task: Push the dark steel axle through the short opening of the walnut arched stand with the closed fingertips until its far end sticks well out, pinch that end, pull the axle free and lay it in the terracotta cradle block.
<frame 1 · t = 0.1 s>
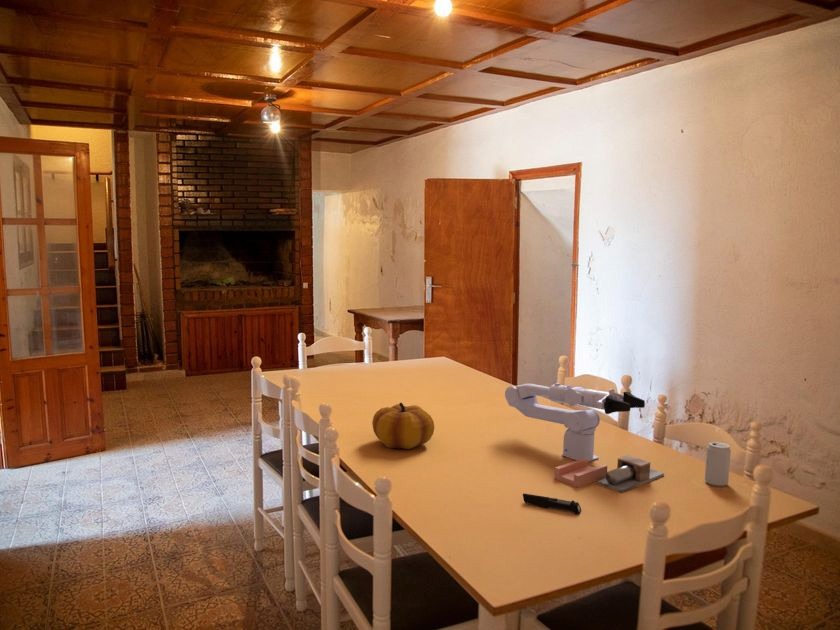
hand: (636, 405, 195), 22 cm above the table, tool horizontal, fingers open, 7 cm apart
axle: (627, 472, 192), point 3 cm above the table, touching arched stand
electric trimmer: (552, 509, 173), on the table
cradle: (580, 477, 194), on the table
arched stand: (632, 478, 194), on the table
beverage can: (716, 484, 192), on the table
decorative pumpkin: (402, 444, 224), on the table
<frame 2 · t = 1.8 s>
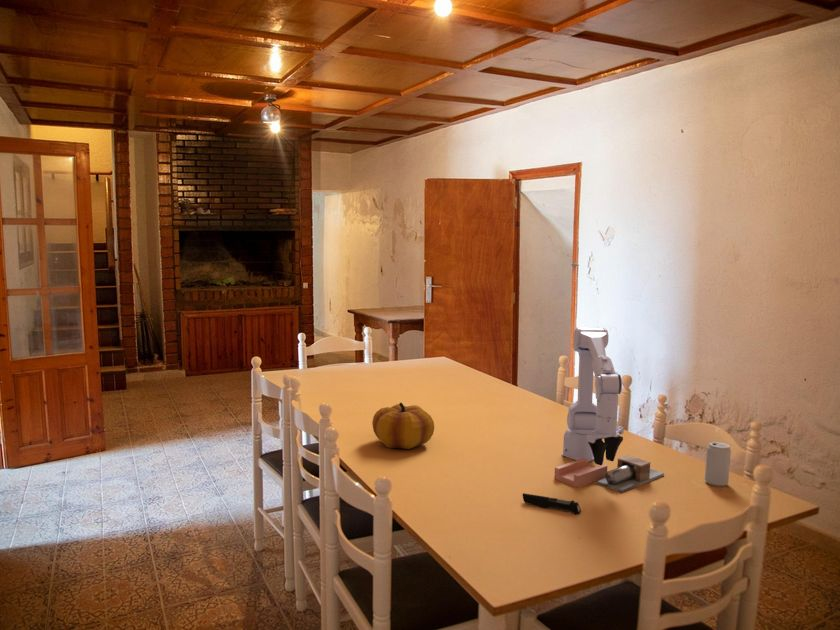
hand: (604, 462, 184), 8 cm above the table, tool pointing down, fingers open, 5 cm apart
nothing on the table moved.
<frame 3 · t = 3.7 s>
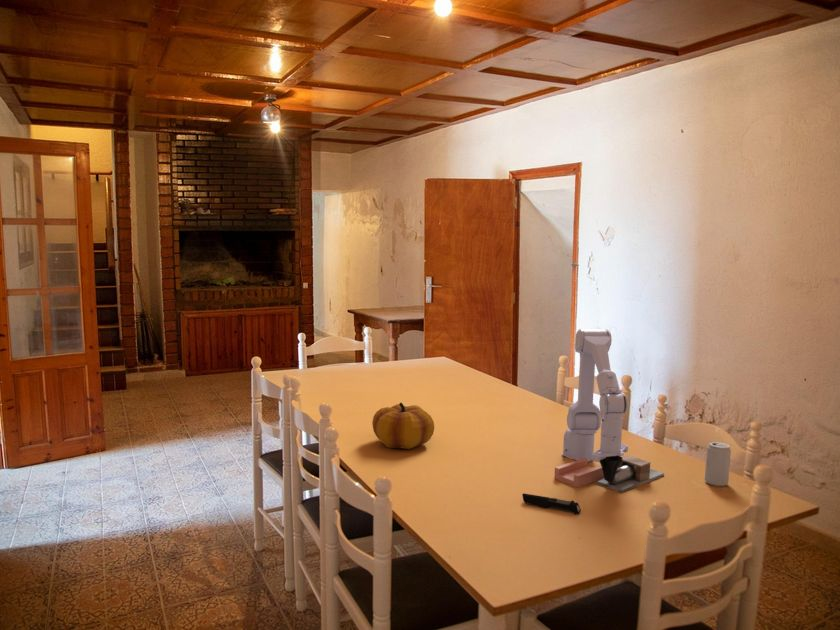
hand: (608, 480, 186), 2 cm above the table, tool pointing down, fingers closed
axle: (627, 471, 192), point 3 cm above the table, touching gripper
everything else where it was.
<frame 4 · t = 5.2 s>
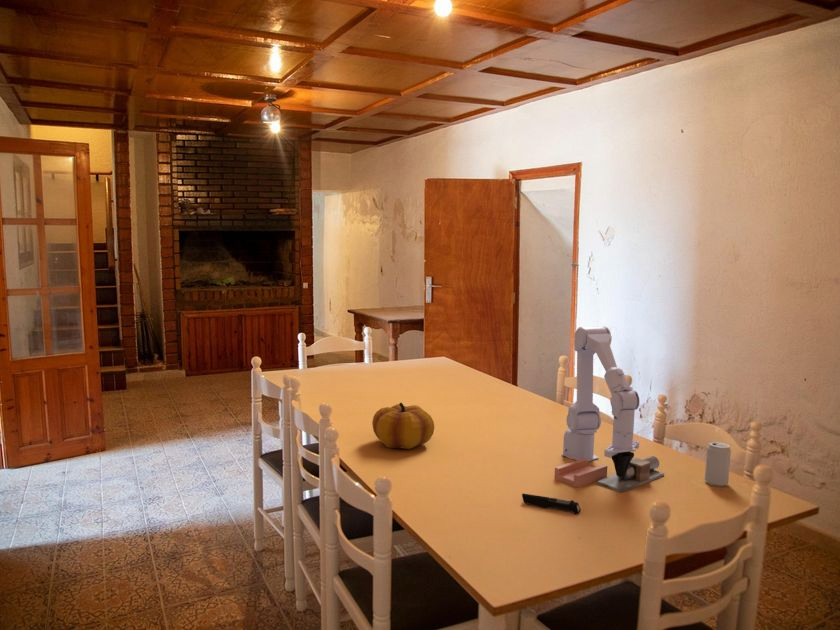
hand: (620, 476, 190), 2 cm above the table, tool pointing down, fingers closed
axle: (638, 467, 196), point 3 cm above the table, touching arched stand, gripper
everything else where it was.
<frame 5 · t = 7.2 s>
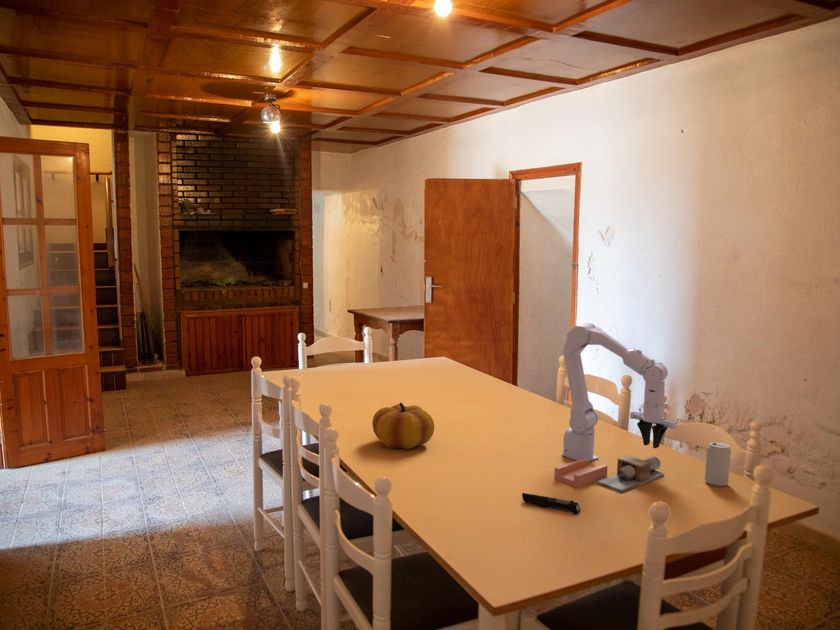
hand: (651, 446, 199), 8 cm above the table, tool pointing down, fingers open, 3 cm apart
axle: (639, 468, 195), point 3 cm above the table, tilted 11°, touching arched stand
everything else where it was.
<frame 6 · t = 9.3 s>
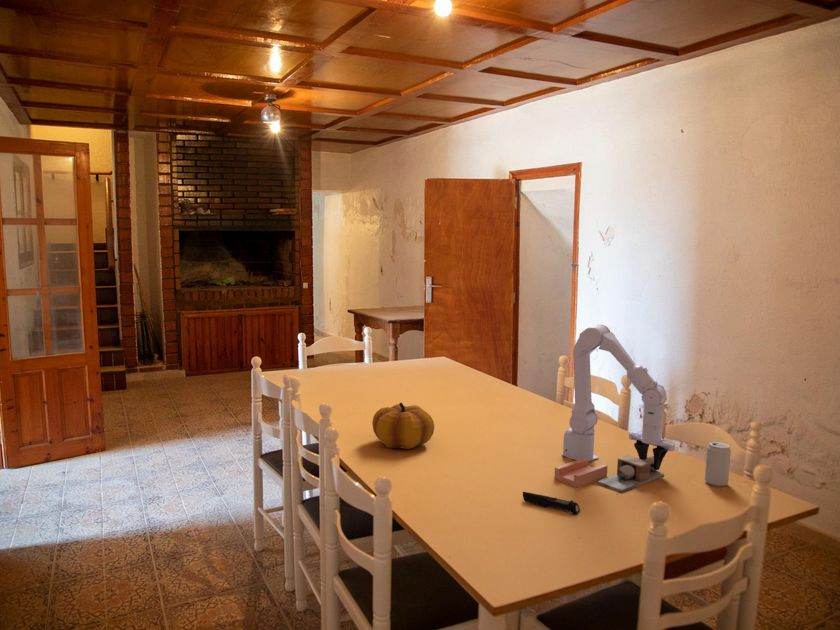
hand: (649, 467, 199), 2 cm above the table, tool pointing down, fingers closed on axle, 4 cm apart
axle: (638, 467, 196), point 3 cm above the table, touching arched stand, gripper
everything else where it was.
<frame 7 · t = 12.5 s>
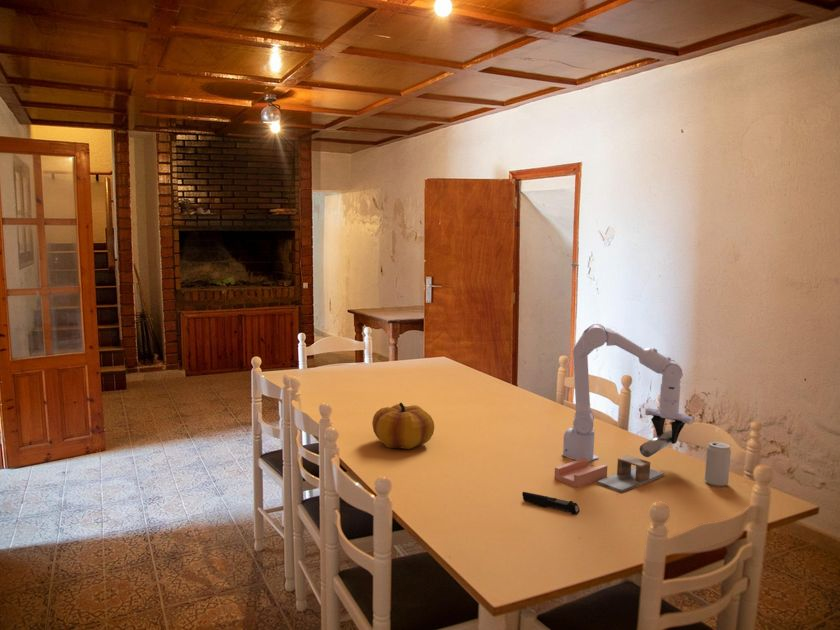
hand: (666, 441, 204), 8 cm above the table, tool pointing down, fingers closed on axle, 4 cm apart
axle: (658, 443, 200), point 9 cm above the table, touching gripper
everything else where it was.
when the fingers open (4 cm above the table, at t = 16.8 s): axle drops 1 cm, resting on cradle.
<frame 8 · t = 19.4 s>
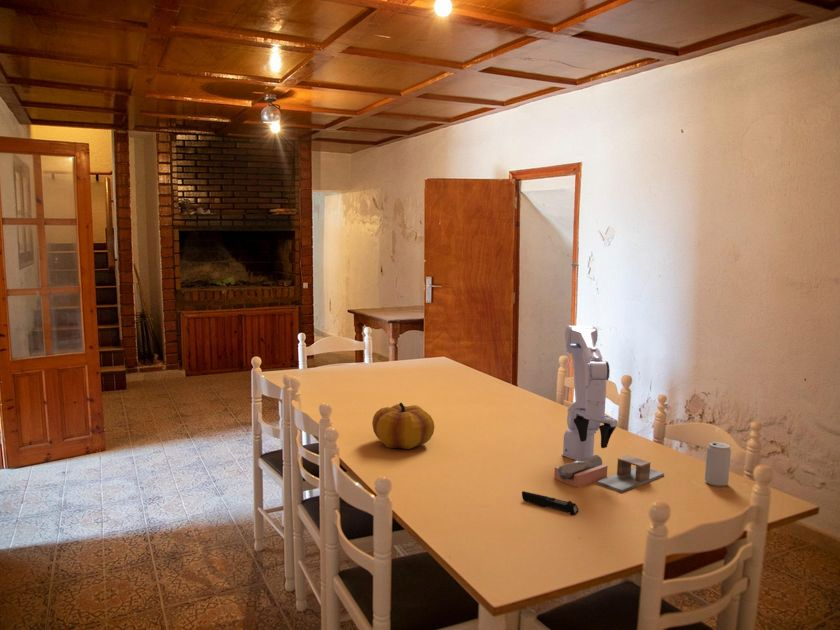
hand: (593, 444, 197), 9 cm above the table, tool pointing down, fingers open, 7 cm apart
axle: (580, 466, 194), point 3 cm above the table, touching cradle
everything else where it was.
at the end: axle 0.3 cm off-centre on the cradle, point 3.5 cm above the cradle's base; axle touching cradle; the gripper is holding nothing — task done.
